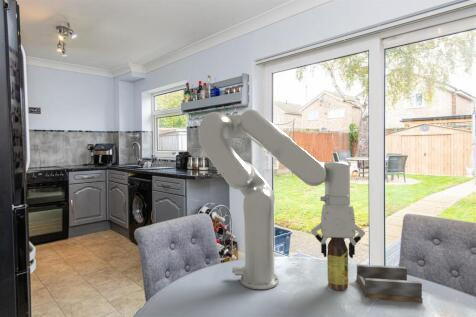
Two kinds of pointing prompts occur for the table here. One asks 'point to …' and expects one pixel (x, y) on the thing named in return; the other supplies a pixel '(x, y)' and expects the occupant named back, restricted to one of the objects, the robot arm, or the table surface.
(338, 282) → the sauce bottle
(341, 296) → the table surface
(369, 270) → the bottle track
